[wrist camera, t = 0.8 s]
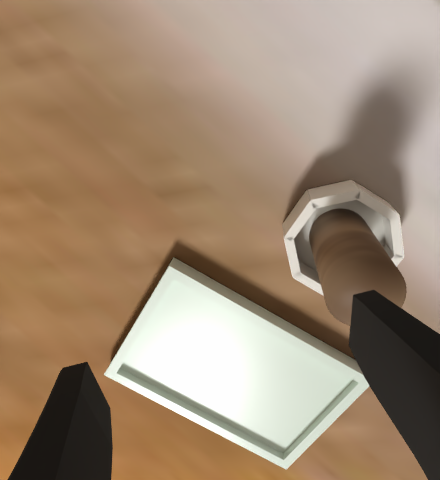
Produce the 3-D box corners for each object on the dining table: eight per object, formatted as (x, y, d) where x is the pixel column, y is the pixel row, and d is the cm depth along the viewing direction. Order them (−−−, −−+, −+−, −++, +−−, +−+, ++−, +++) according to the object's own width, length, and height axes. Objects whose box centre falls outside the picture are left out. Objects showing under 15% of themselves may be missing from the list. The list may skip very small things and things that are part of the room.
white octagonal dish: (413, 218, 27) (427, 231, 25) (347, 295, 30) (354, 313, 28) (325, 163, 26) (330, 171, 24) (265, 247, 29) (266, 262, 27)
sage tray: (369, 368, 32) (374, 381, 31) (285, 454, 37) (286, 469, 35) (173, 257, 30) (169, 265, 29) (110, 363, 35) (104, 374, 33)
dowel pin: (380, 227, 27) (424, 284, 20) (344, 272, 29) (371, 339, 21) (331, 197, 27) (357, 243, 19) (297, 244, 28) (309, 303, 21)
